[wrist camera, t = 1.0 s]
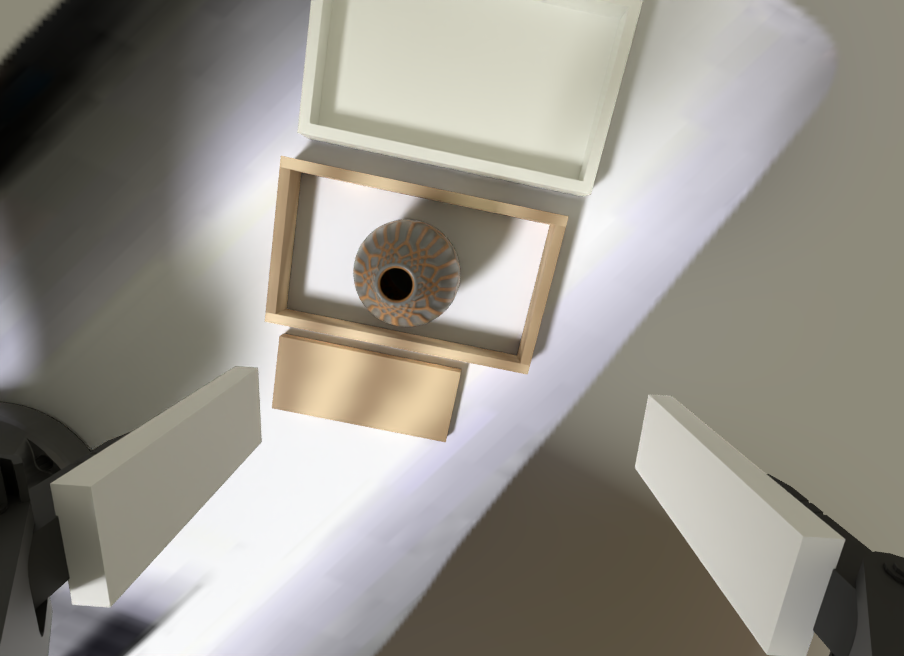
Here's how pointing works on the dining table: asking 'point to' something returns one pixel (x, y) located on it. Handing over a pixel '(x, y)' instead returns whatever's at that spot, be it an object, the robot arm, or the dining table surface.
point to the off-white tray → (470, 83)
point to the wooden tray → (386, 337)
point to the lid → (364, 387)
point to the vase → (406, 273)
